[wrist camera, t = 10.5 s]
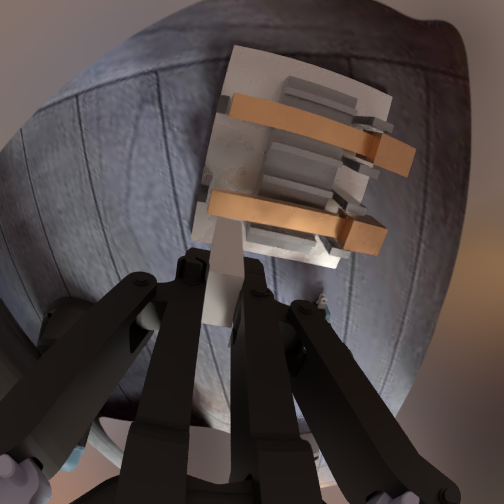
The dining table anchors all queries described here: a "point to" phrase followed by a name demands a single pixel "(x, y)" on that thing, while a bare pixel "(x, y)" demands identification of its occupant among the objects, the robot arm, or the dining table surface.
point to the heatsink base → (289, 152)
